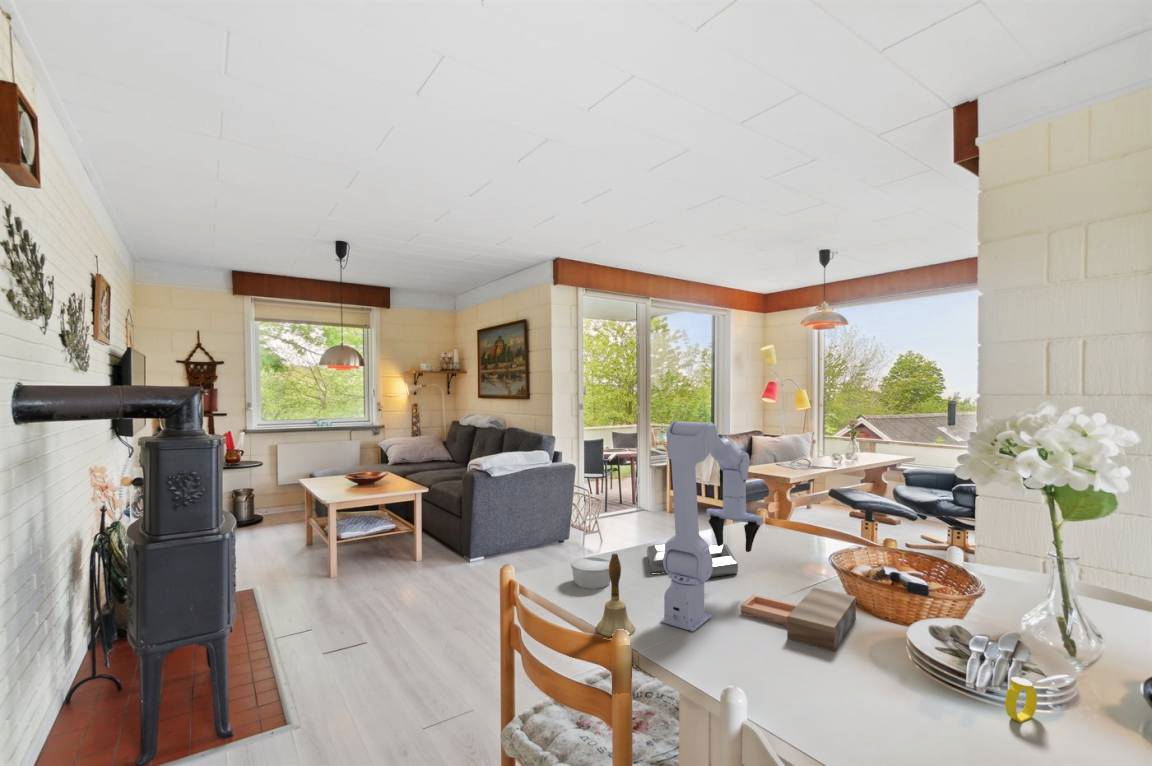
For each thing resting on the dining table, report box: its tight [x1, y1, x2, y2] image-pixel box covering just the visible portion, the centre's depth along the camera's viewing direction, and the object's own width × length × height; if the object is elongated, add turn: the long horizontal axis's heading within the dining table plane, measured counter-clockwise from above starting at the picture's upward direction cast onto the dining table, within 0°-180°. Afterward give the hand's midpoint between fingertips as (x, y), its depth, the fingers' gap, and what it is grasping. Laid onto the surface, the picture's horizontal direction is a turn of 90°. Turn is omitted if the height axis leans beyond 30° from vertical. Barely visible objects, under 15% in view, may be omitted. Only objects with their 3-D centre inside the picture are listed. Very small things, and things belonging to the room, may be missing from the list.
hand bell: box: [595, 553, 636, 638], centre depth 118 cm, size 8×8×16 cm
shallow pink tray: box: [740, 594, 798, 627], centre depth 126 cm, size 8×12×2 cm, turn 52°
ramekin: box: [570, 556, 611, 590], centre depth 146 cm, size 11×11×5 cm
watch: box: [1004, 676, 1038, 723], centre depth 87 cm, size 6×3×6 cm, turn 114°
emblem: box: [646, 543, 739, 578], centre depth 160 cm, size 28×5×28 cm
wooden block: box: [786, 587, 857, 652], centre depth 119 cm, size 20×9×5 cm, turn 142°
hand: (734, 548), depth 143 cm, fingers open, 7 cm apart
